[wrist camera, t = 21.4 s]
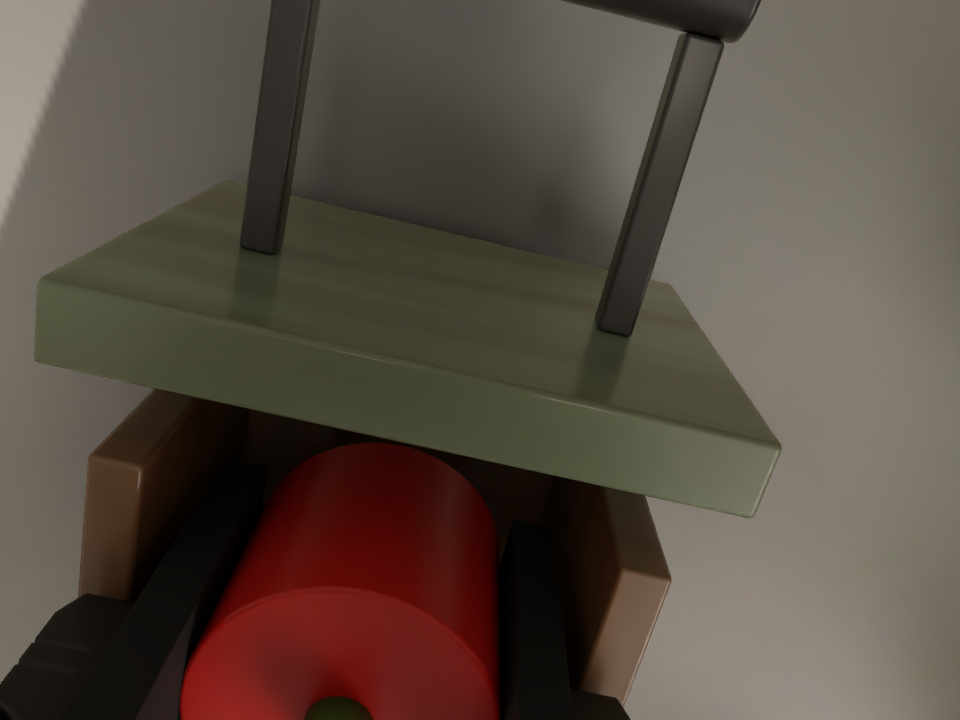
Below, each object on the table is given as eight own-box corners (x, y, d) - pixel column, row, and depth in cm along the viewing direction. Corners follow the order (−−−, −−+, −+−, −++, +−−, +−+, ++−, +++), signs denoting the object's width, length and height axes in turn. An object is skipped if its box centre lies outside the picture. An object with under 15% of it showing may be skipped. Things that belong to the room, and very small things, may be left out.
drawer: (264, -154, 16) (60, -321, 8) (772, -20, 16) (997, -66, 9) (167, 642, 22) (6, 938, 15) (529, 715, 23) (544, 1032, 16)
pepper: (277, 416, 15) (151, 633, 10) (525, 470, 15) (542, 710, 10) (244, 620, 17) (120, 907, 11) (469, 666, 17) (456, 966, 11)
